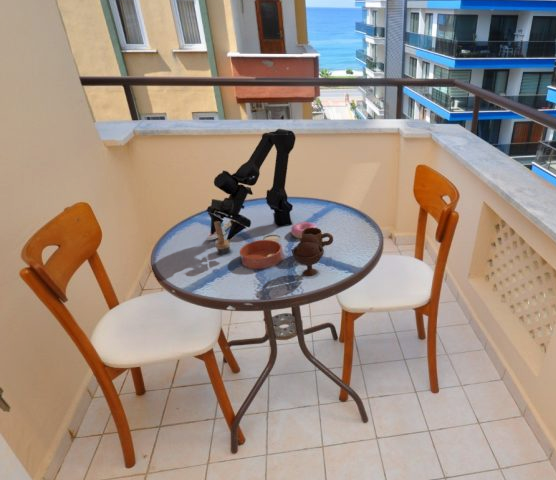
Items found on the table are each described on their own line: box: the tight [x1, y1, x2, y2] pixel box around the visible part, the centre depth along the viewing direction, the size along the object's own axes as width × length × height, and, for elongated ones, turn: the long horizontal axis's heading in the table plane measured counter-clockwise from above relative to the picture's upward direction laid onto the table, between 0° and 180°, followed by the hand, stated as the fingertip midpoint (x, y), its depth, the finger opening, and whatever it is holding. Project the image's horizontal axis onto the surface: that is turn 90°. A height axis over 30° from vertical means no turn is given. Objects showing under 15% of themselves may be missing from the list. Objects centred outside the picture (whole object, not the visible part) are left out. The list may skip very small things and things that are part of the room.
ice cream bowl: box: [291, 234, 325, 277], centre depth 144 cm, size 11×11×15 cm
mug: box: [302, 227, 334, 249], centre depth 158 cm, size 12×8×9 cm, turn 82°
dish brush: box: [214, 221, 231, 256], centre depth 157 cm, size 5×5×13 cm
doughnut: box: [290, 221, 318, 239], centre depth 174 cm, size 11×11×4 cm
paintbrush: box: [206, 219, 235, 241], centre depth 175 cm, size 4×3×20 cm
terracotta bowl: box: [239, 239, 284, 270], centre depth 156 cm, size 15×15×4 cm
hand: (219, 236), depth 157 cm, fingers open, 9 cm apart
